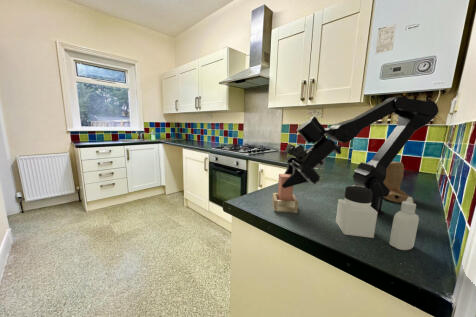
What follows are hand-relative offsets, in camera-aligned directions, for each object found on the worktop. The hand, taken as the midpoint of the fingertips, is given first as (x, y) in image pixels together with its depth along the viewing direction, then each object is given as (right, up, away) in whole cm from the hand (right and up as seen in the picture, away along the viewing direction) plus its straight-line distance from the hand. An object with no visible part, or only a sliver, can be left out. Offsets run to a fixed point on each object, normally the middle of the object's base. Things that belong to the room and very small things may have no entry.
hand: (281, 185), depth 64 cm
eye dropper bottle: (+24, -12, -19) cm, 33 cm away
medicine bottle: (+17, -11, -12) cm, 23 cm away
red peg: (+1, -7, +1) cm, 7 cm away
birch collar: (+1, -8, +1) cm, 8 cm away
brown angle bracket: (+48, -7, +15) cm, 50 cm away
